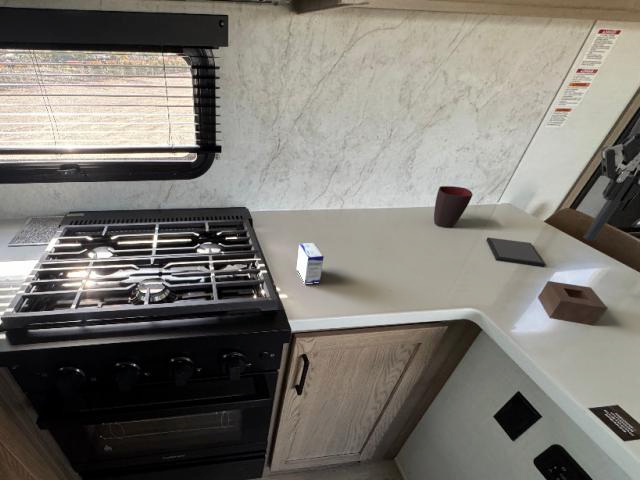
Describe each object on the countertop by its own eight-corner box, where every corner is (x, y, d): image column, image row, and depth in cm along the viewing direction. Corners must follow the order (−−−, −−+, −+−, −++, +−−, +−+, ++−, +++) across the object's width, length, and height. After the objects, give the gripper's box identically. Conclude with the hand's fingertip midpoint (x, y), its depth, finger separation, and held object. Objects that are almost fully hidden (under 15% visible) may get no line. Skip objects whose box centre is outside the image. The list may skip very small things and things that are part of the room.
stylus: (592, 237, 78) (634, 174, 70) (596, 241, 77) (639, 177, 68) (581, 236, 79) (621, 173, 71) (585, 239, 77) (626, 176, 69)
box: (320, 283, 93) (324, 256, 88) (304, 285, 92) (307, 257, 87) (311, 268, 99) (314, 242, 94) (295, 270, 98) (298, 243, 93)
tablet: (529, 245, 109) (530, 242, 109) (543, 267, 99) (545, 263, 98) (486, 240, 113) (487, 237, 112) (495, 260, 102) (497, 257, 101)
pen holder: (578, 304, 85) (590, 287, 82) (594, 325, 78) (608, 308, 75) (537, 297, 87) (547, 280, 84) (549, 317, 81) (560, 300, 78)
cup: (430, 228, 120) (442, 194, 113) (424, 213, 131) (434, 181, 123) (462, 231, 118) (476, 197, 111) (452, 215, 129) (464, 183, 121)
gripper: (638, 107, 61) (581, 202, 72) (743, 111, 57) (667, 210, 68) (618, 102, 67) (568, 190, 77) (712, 105, 63) (646, 197, 73)
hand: (614, 199), depth 72 cm, fingers closed on stylus, 2 cm apart
